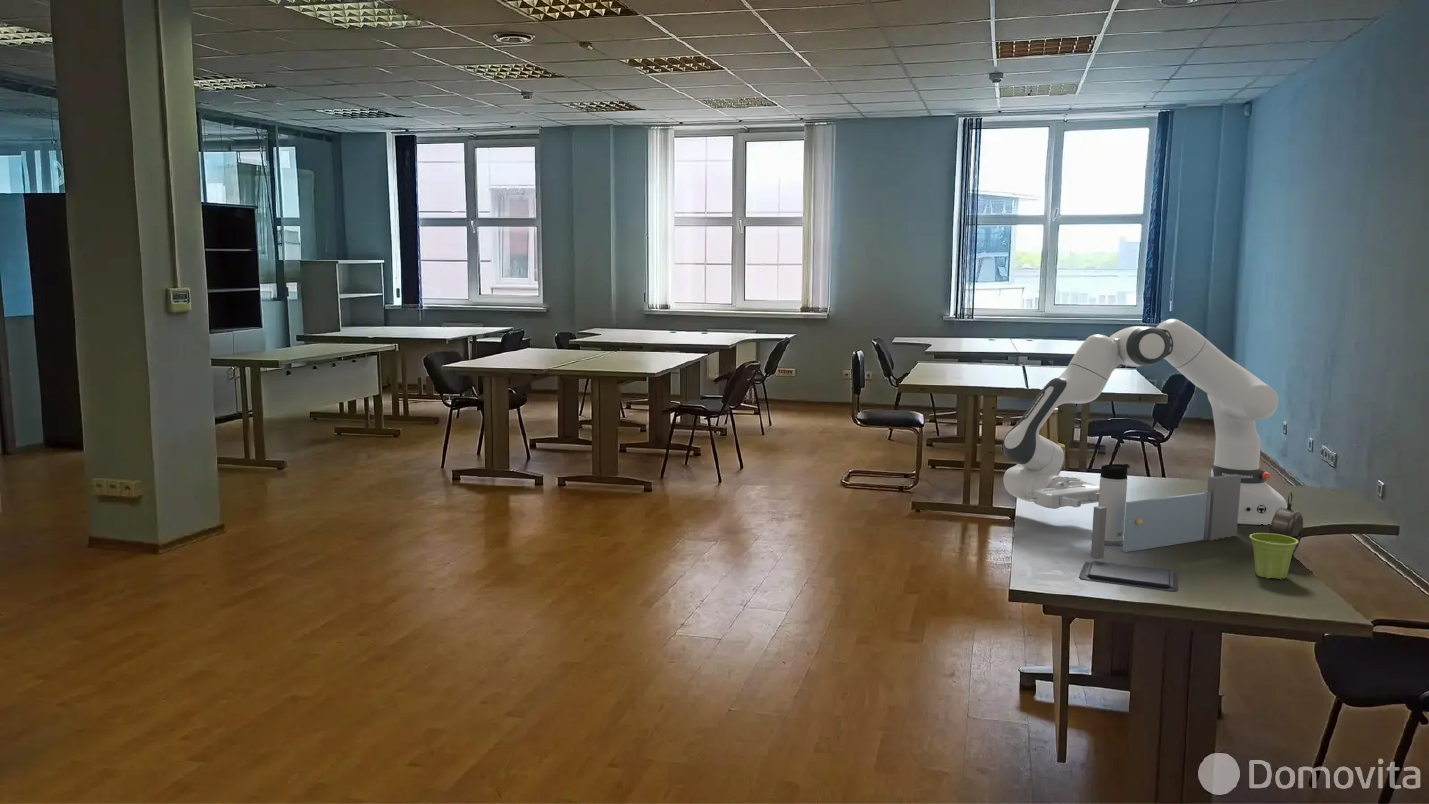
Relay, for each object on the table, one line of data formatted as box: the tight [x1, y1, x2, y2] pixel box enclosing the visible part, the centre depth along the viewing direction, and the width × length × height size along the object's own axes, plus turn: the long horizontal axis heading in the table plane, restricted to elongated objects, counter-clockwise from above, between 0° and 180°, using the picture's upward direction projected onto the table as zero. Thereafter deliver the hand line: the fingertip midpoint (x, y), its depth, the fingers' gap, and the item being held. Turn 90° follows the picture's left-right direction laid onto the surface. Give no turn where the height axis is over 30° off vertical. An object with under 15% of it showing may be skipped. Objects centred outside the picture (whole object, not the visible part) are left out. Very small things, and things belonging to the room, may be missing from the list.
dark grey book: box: [1078, 560, 1179, 593], centre depth 217 cm, size 20×2×15 cm
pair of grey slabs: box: [1090, 474, 1241, 559], centre depth 242 cm, size 49×2×16 cm, turn 116°
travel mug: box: [1097, 463, 1131, 546], centre depth 244 cm, size 6×7×20 cm
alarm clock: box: [1268, 490, 1304, 561], centre depth 232 cm, size 11×5×16 cm, turn 135°
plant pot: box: [1249, 532, 1298, 579], centre depth 218 cm, size 9×9×9 cm
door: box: [1122, 490, 1211, 553], centre depth 241 cm, size 29×2×12 cm, turn 116°
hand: (1092, 502), depth 250 cm, fingers open, 8 cm apart
